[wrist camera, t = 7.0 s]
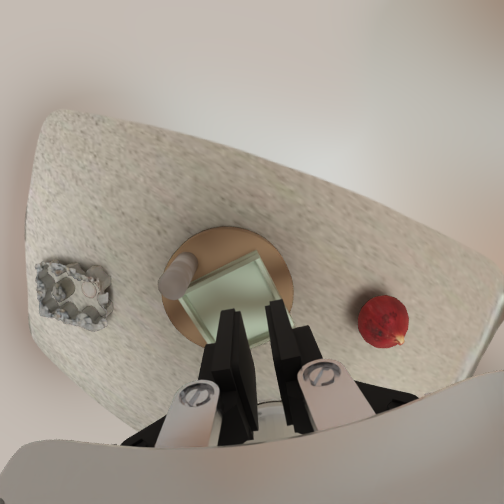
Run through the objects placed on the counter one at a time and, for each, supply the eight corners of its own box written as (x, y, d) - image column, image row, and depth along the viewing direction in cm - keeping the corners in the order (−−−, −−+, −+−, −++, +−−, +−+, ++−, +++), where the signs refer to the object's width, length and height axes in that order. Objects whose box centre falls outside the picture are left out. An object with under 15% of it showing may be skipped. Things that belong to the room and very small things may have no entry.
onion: (342, 325, 32) (365, 363, 25) (358, 281, 31) (389, 311, 23) (380, 330, 33) (409, 365, 25) (397, 289, 31) (432, 318, 24)
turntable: (309, 312, 30) (328, 353, 22) (205, 357, 31) (197, 404, 24) (255, 203, 27) (260, 213, 19) (144, 262, 28) (113, 291, 21)
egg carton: (114, 266, 30) (99, 277, 26) (116, 322, 32) (103, 339, 28) (46, 252, 29) (28, 261, 25) (51, 305, 31) (35, 317, 27)
